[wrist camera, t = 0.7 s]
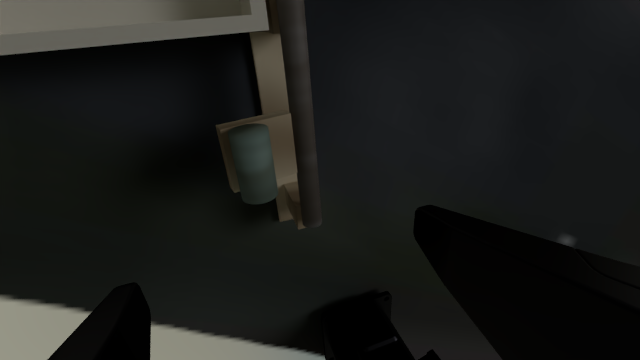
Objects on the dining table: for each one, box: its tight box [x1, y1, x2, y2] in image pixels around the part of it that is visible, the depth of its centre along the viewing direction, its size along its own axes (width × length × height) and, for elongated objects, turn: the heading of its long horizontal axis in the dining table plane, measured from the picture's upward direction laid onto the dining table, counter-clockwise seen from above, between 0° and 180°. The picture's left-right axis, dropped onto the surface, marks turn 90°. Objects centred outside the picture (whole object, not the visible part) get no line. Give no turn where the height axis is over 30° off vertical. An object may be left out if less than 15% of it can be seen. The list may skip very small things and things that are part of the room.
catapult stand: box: [249, 0, 306, 230], centre depth 17 cm, size 20×13×3 cm
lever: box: [216, 0, 322, 228], centre depth 15 cm, size 19×18×2 cm
